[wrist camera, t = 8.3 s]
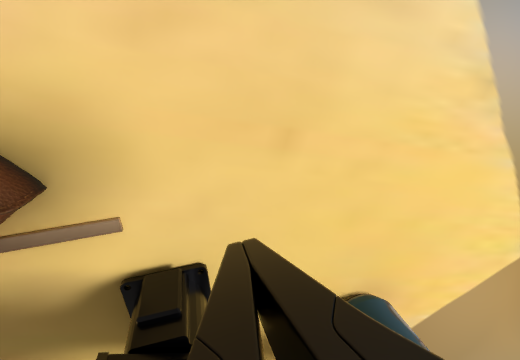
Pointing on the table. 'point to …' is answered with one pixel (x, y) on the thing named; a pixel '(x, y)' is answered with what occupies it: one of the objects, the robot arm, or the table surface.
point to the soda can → (384, 315)
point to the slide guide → (59, 234)
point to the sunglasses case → (16, 188)
